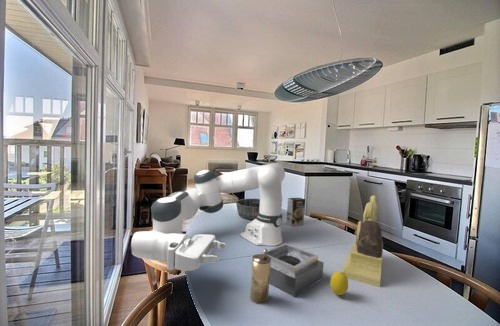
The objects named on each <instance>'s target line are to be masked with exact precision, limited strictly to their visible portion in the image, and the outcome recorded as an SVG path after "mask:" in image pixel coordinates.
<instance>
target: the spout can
mask: <svg viewBox="0 0 500 326" xmlns="http://www.w3.org/2000/svg"><path fill="white" fill-rule="evenodd" d="M268 250H269V249H266V248H264V249H263V252H264V253H263V254H261V253H259V254H254V255H253V256H252V263H251V264H252V265H251V278H250V279H251V280H250V281H251V282H250V283H251V284H250V297H249V298H250V299H249V300H251V302H252V303H255V304H259V305H261V304H262V305H263V304H265V303H267V302H268V301H269V293H270V284H269V279H270V262H271V258H270V257H269V256H267V252H268Z"/></svg>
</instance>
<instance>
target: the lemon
mask: <svg viewBox="0 0 500 326" xmlns="http://www.w3.org/2000/svg"><path fill="white" fill-rule="evenodd" d="M348 280H349V279H348V278H347V277H346V275H345V274H343V273H342V271H336V272H333V274H332V275H331V278H330V284H329V285H330V288H331V291H332V292H333V293H334V294H336V295H337V296H338V297H339V296H341V295H342V296H343V295H344V294H346V293H347V291H348V289H349V281H348Z"/></svg>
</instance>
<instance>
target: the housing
mask: <svg viewBox="0 0 500 326" xmlns="http://www.w3.org/2000/svg"><path fill="white" fill-rule="evenodd" d="M267 250H268V252H267V256H269V257H270V258H271V262H270V279H269V285H271V286H273V287H274V288H277V289H278V290H280V291H282V292H284V293H286V294H288V295H289V296H292V297H293V298H295V297H297V296H298V295H300V294H301V293H304V292H305V291H306V290H307V289H309V288H310V287H312V286H314V285H315V284H317V283H318V282H320V280H322V279H323V274H324V261H321V260H319V255H318V254H315V253H312V252H310V251H307V250H304V249H302V248H299V247H296V246H293V245H290V244H288V243H281V244H279V245H276V246H275V247H272V248H270V249H267ZM263 253H264V251H262V252H260V254H263Z"/></svg>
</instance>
